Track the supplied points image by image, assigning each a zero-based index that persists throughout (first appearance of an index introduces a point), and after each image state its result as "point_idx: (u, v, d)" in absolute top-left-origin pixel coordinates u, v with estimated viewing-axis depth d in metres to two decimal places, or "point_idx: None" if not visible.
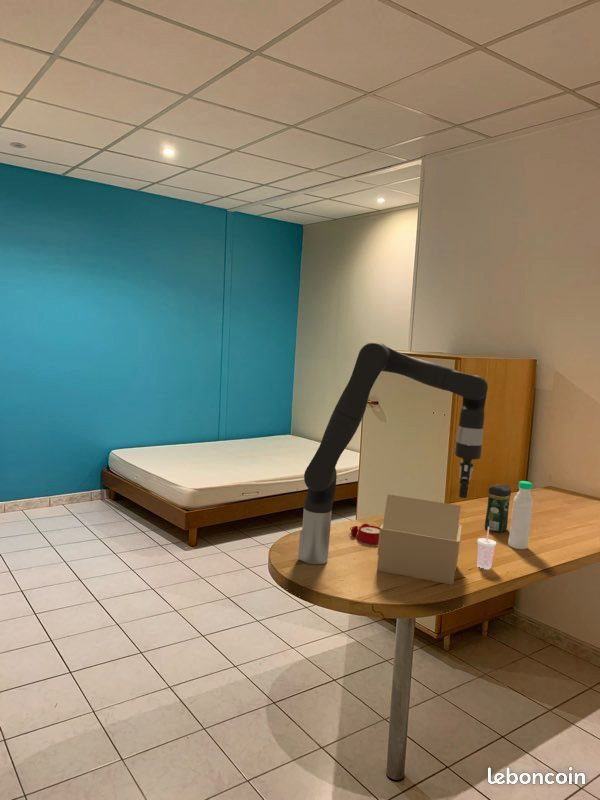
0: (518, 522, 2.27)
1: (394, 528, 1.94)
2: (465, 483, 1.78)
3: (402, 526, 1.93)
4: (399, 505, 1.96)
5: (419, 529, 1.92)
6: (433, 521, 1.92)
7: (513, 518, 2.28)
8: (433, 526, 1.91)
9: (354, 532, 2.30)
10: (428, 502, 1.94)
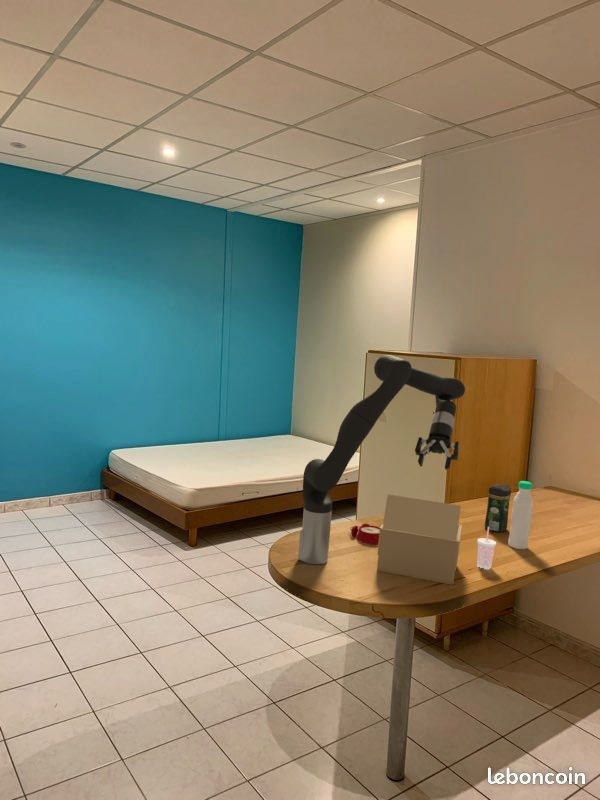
0: (518, 522, 2.27)
1: (394, 528, 1.94)
2: (457, 457, 2.05)
3: (402, 526, 1.93)
4: (399, 505, 1.96)
5: (419, 529, 1.92)
6: (433, 521, 1.92)
7: (513, 518, 2.28)
8: (433, 526, 1.91)
9: (354, 532, 2.30)
10: (428, 502, 1.94)
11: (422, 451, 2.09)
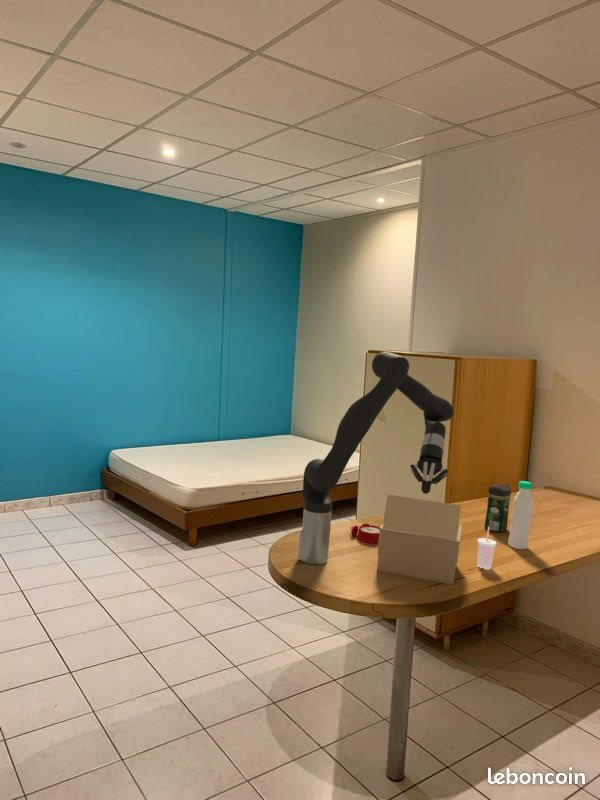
0: (518, 522, 2.27)
1: (394, 528, 1.94)
2: (436, 481, 2.02)
3: (402, 526, 1.93)
4: (399, 505, 1.96)
5: (419, 529, 1.92)
6: (433, 521, 1.92)
7: (513, 518, 2.28)
8: (433, 526, 1.91)
9: (354, 532, 2.30)
10: (428, 502, 1.94)
11: (424, 477, 2.02)
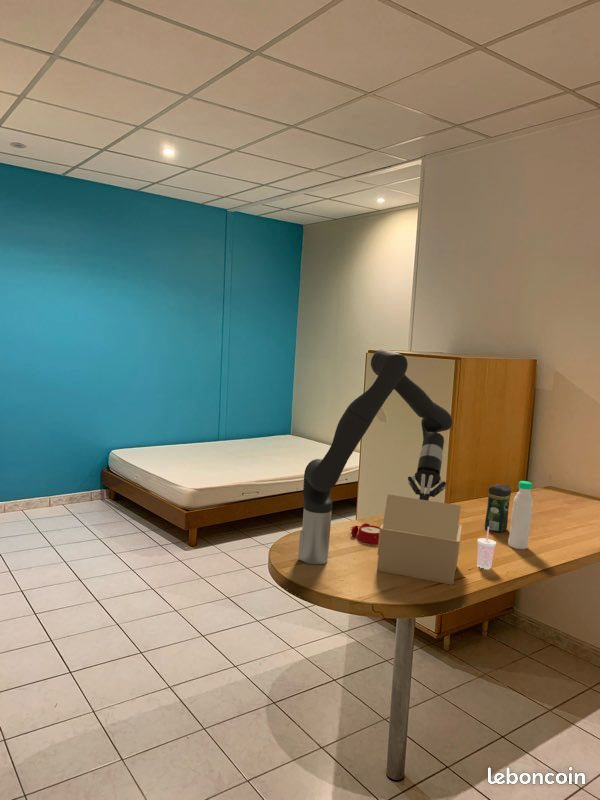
0: (518, 522, 2.27)
1: (394, 528, 1.94)
2: (434, 494, 1.97)
3: (402, 526, 1.93)
4: (399, 505, 1.96)
5: (419, 529, 1.92)
6: (433, 521, 1.92)
7: (513, 518, 2.28)
8: (433, 526, 1.91)
9: (354, 532, 2.30)
10: (428, 502, 1.94)
11: (422, 490, 1.97)
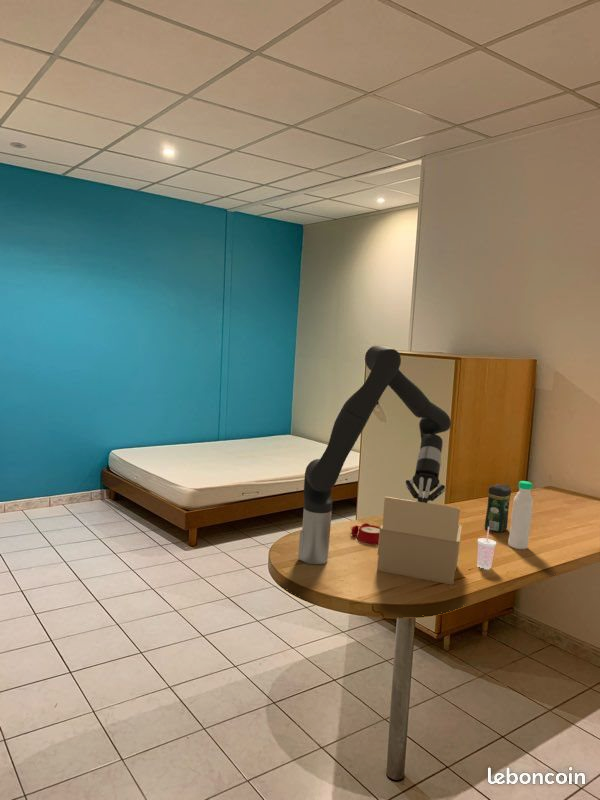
0: (518, 522, 2.27)
1: (394, 529, 1.93)
2: (433, 498, 1.92)
3: (402, 527, 1.92)
4: (397, 507, 1.91)
5: (418, 530, 1.91)
6: (432, 523, 1.89)
7: (513, 518, 2.28)
8: (432, 528, 1.89)
9: (354, 532, 2.30)
10: (426, 505, 1.88)
11: (420, 494, 1.92)
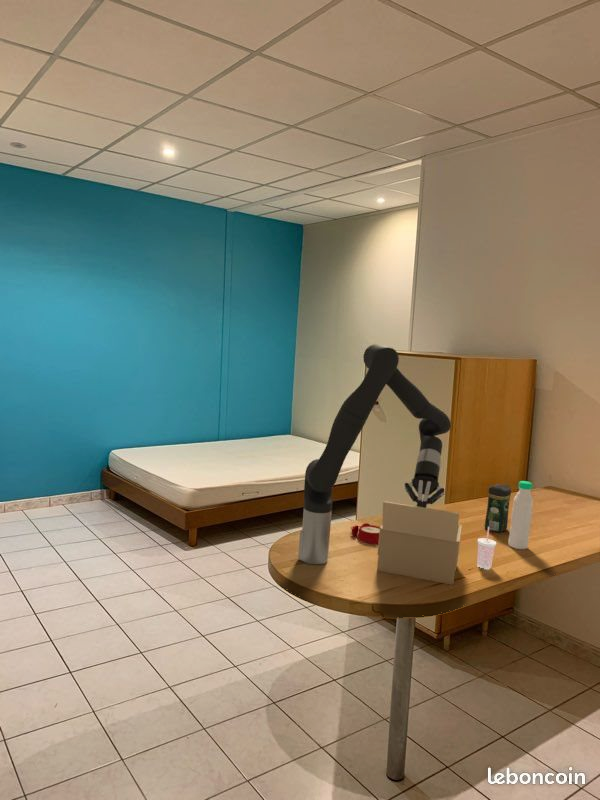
0: (518, 522, 2.27)
1: (394, 529, 1.93)
2: (432, 501, 1.90)
3: (401, 528, 1.92)
4: (396, 511, 1.90)
5: (418, 531, 1.91)
6: (432, 526, 1.88)
7: (513, 518, 2.28)
8: (432, 530, 1.89)
9: (355, 532, 2.30)
10: (425, 510, 1.86)
11: (419, 497, 1.90)
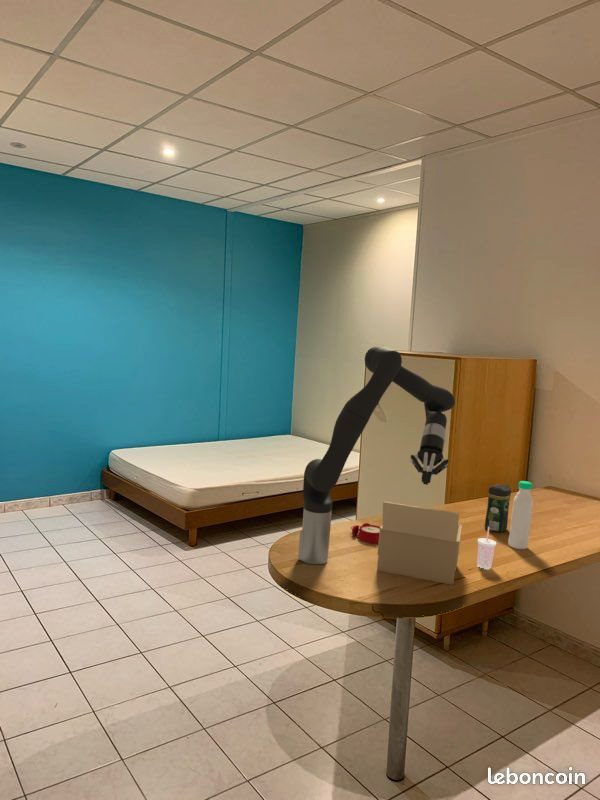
0: (518, 522, 2.27)
1: (394, 529, 1.93)
2: (437, 472, 1.99)
3: (401, 528, 1.92)
4: (396, 511, 1.89)
5: (418, 531, 1.91)
6: (432, 526, 1.88)
7: (513, 518, 2.28)
8: (432, 530, 1.89)
9: (355, 531, 2.30)
10: (425, 510, 1.86)
11: (425, 468, 1.99)
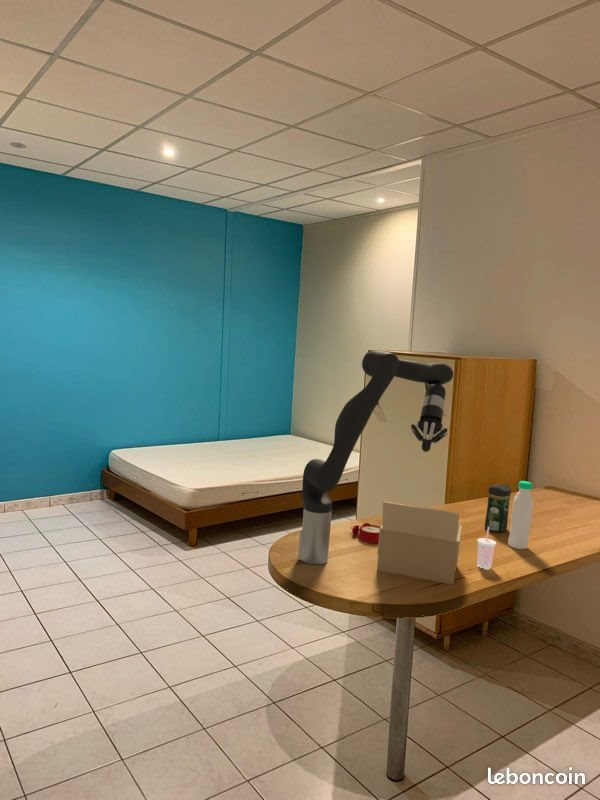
0: (518, 522, 2.27)
1: (394, 529, 1.93)
2: (436, 440, 2.08)
3: (401, 528, 1.92)
4: (396, 511, 1.89)
5: (418, 531, 1.91)
6: (432, 526, 1.88)
7: (513, 518, 2.28)
8: (432, 530, 1.89)
9: (355, 531, 2.30)
10: (425, 510, 1.86)
11: (425, 436, 2.08)
